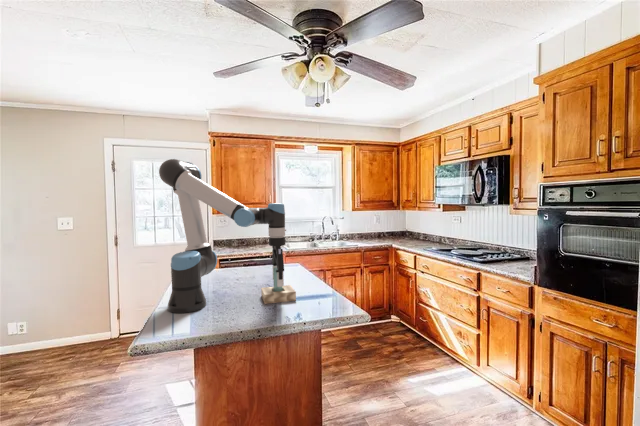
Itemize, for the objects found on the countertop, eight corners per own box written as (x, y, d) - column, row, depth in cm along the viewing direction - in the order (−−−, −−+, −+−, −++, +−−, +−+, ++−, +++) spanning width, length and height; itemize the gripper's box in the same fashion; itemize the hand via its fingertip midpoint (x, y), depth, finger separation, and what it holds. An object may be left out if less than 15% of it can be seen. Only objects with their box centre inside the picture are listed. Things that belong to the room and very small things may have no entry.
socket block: (264, 303, 138) (264, 294, 138) (261, 296, 150) (261, 287, 150) (295, 300, 142) (295, 291, 142) (290, 293, 154) (290, 285, 154)
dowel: (274, 300, 144) (273, 269, 143) (273, 297, 147) (272, 267, 147) (283, 299, 145) (282, 268, 144) (281, 296, 149) (281, 267, 148)
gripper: (290, 239, 134) (291, 288, 135) (280, 233, 158) (281, 276, 159) (272, 240, 132) (273, 290, 133) (265, 234, 156) (266, 277, 157)
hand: (277, 282), depth 146 cm, fingers open, 13 cm apart
